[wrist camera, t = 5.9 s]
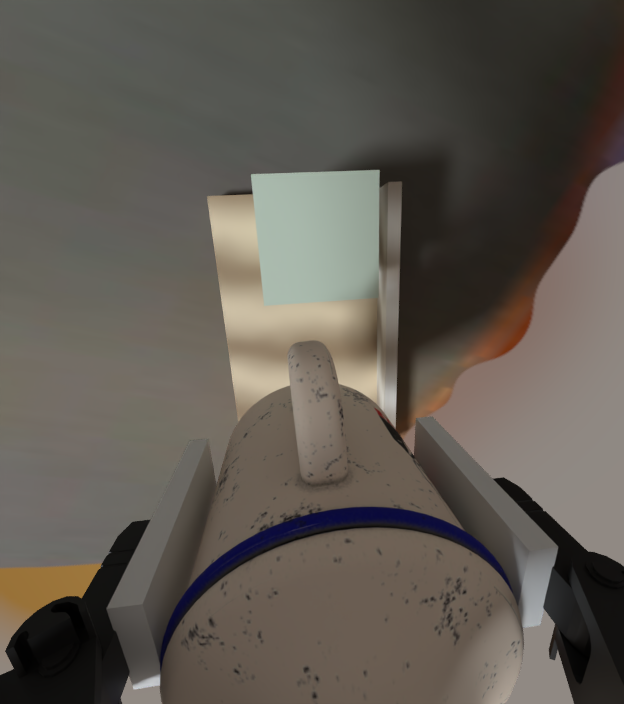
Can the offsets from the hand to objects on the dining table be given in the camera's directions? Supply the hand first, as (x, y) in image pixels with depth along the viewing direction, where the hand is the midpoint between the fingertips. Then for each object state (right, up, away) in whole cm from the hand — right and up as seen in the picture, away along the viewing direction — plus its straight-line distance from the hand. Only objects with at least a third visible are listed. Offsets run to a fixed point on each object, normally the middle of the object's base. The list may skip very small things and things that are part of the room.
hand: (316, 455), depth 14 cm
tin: (-1, +13, +11) cm, 17 cm away
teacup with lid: (0, +1, +2) cm, 2 cm away
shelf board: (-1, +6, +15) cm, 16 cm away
